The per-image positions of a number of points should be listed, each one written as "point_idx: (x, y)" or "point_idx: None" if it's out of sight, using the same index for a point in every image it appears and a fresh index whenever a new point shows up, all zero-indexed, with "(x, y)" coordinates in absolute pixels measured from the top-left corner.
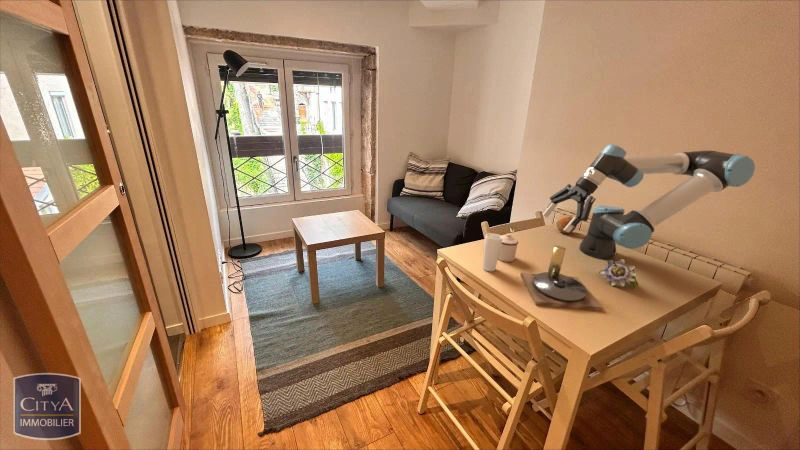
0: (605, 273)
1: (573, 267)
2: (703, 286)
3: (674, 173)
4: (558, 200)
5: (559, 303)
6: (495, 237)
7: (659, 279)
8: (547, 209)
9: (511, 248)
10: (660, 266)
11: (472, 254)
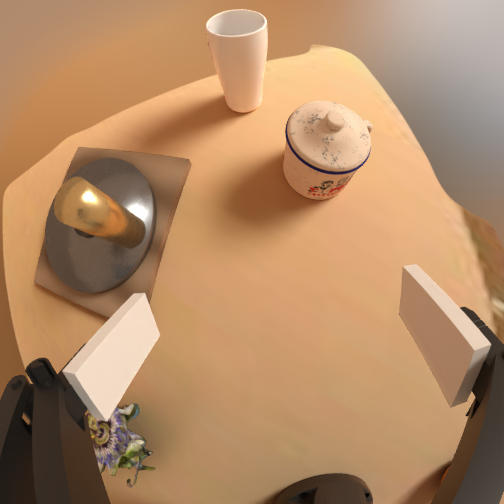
0: (118, 408)
1: (225, 383)
2: None
3: None
4: (477, 422)
5: None
6: (258, 40)
7: None
8: (435, 294)
9: (286, 142)
10: None
11: (334, 94)
